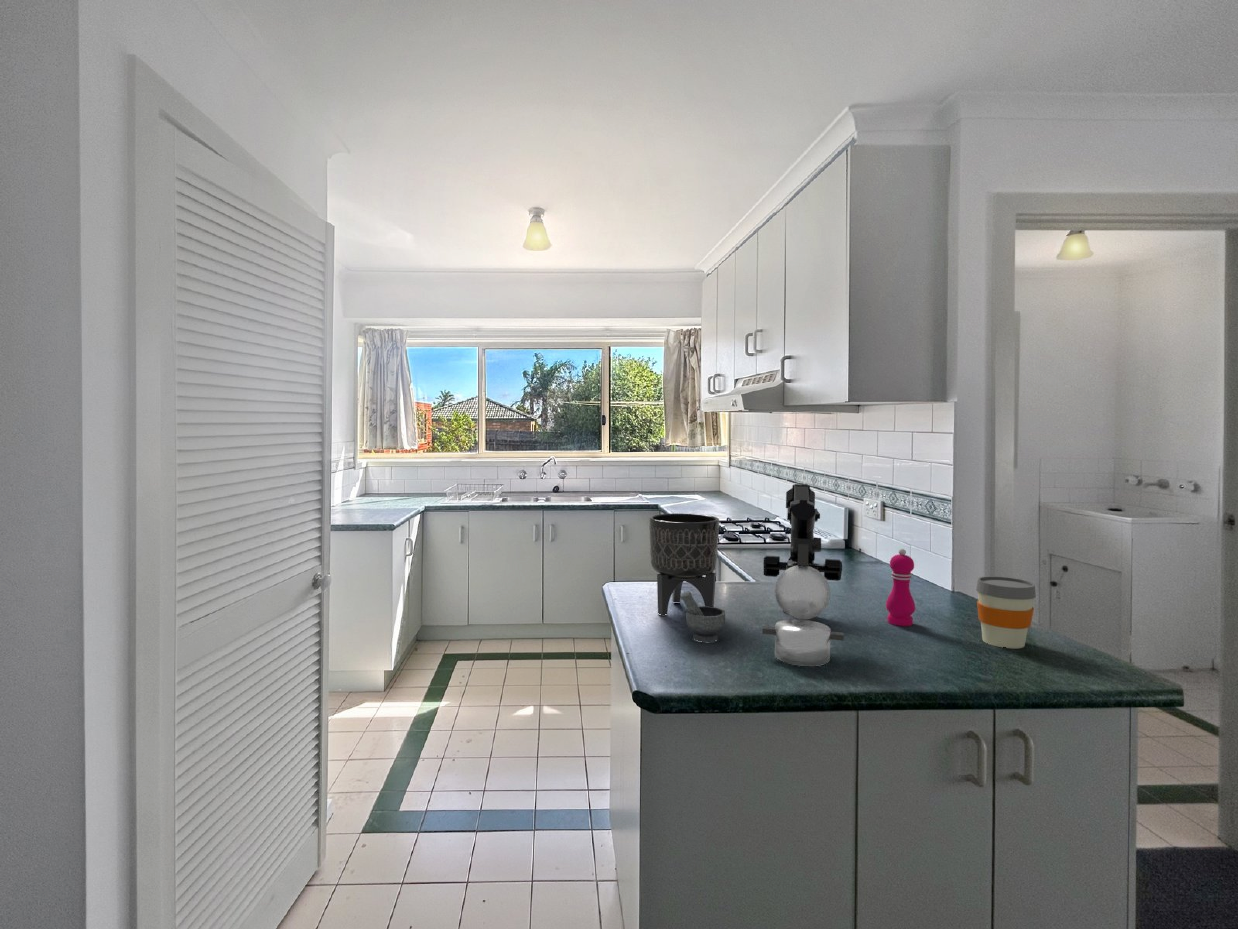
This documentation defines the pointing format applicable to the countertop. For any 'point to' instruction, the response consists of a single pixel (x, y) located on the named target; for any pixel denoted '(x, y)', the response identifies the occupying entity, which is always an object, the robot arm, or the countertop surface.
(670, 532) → the planter
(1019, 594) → the reusable coffee cup
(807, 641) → the steel pot
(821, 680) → the countertop surface
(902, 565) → the pepper mill
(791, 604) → the steel lid
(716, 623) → the mortar and pestle
